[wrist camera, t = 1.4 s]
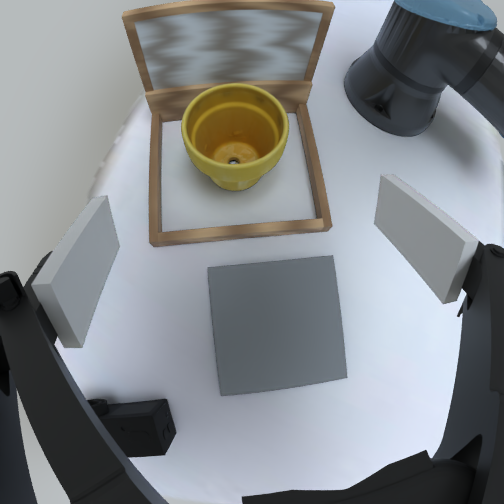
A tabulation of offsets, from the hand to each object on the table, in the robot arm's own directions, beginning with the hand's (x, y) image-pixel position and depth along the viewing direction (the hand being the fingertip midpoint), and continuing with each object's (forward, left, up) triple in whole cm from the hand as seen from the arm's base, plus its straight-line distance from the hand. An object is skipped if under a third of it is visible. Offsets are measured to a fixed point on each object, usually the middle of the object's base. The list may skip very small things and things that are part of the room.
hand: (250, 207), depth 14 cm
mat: (-4, +6, -21) cm, 22 cm away
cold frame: (-1, -13, -21) cm, 24 cm away
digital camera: (+14, +15, -21) cm, 30 cm away
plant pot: (-1, -13, -21) cm, 25 cm away
